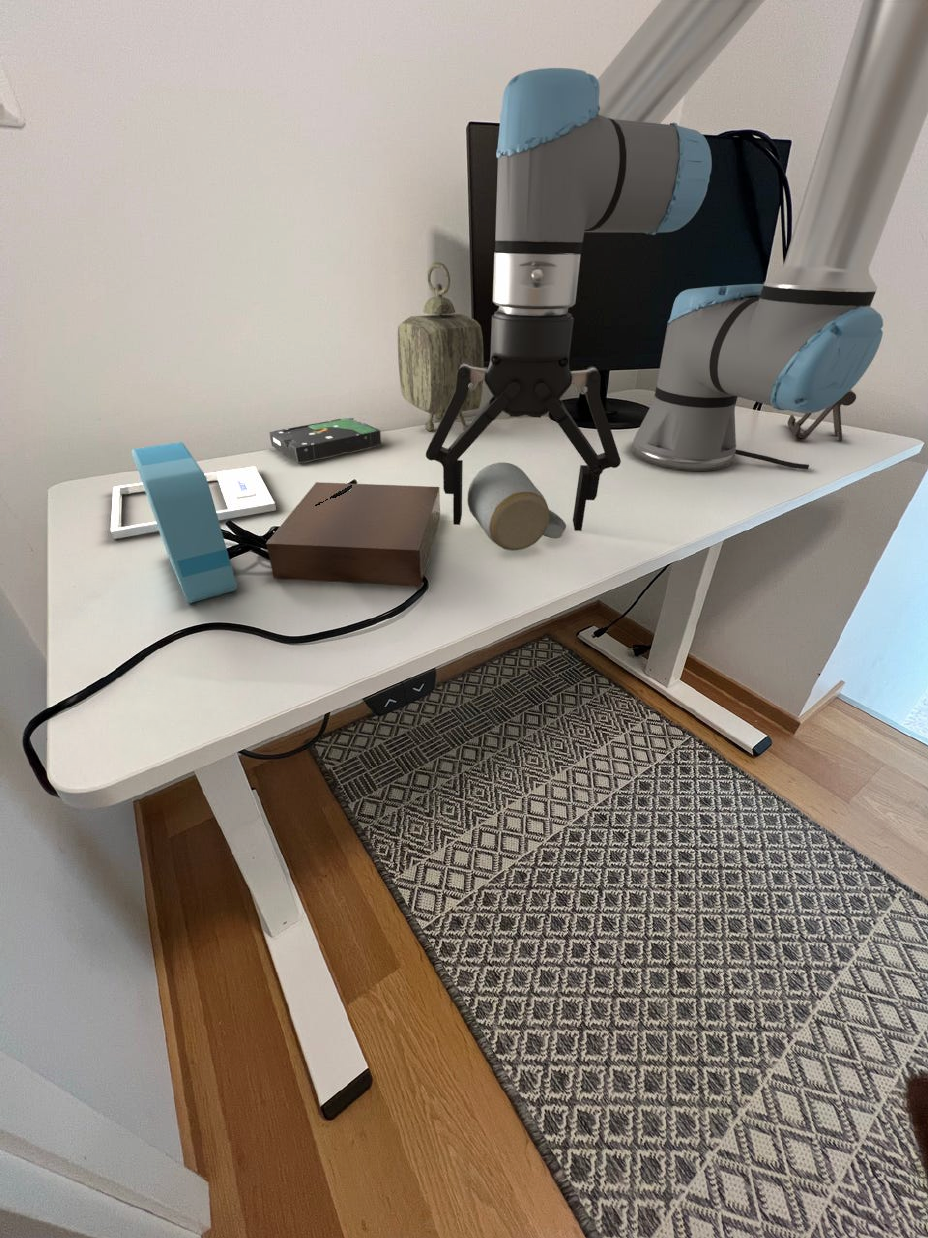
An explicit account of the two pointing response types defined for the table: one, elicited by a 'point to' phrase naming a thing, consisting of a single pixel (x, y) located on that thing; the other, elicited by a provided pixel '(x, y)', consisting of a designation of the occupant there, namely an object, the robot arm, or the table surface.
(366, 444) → the disk drive
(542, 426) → the table surface
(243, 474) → the photo frame
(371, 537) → the walnut riser
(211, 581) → the blue rounded block
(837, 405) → the tablet stand
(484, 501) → the ceramic mug
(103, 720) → the table surface
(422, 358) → the tabletop clock
